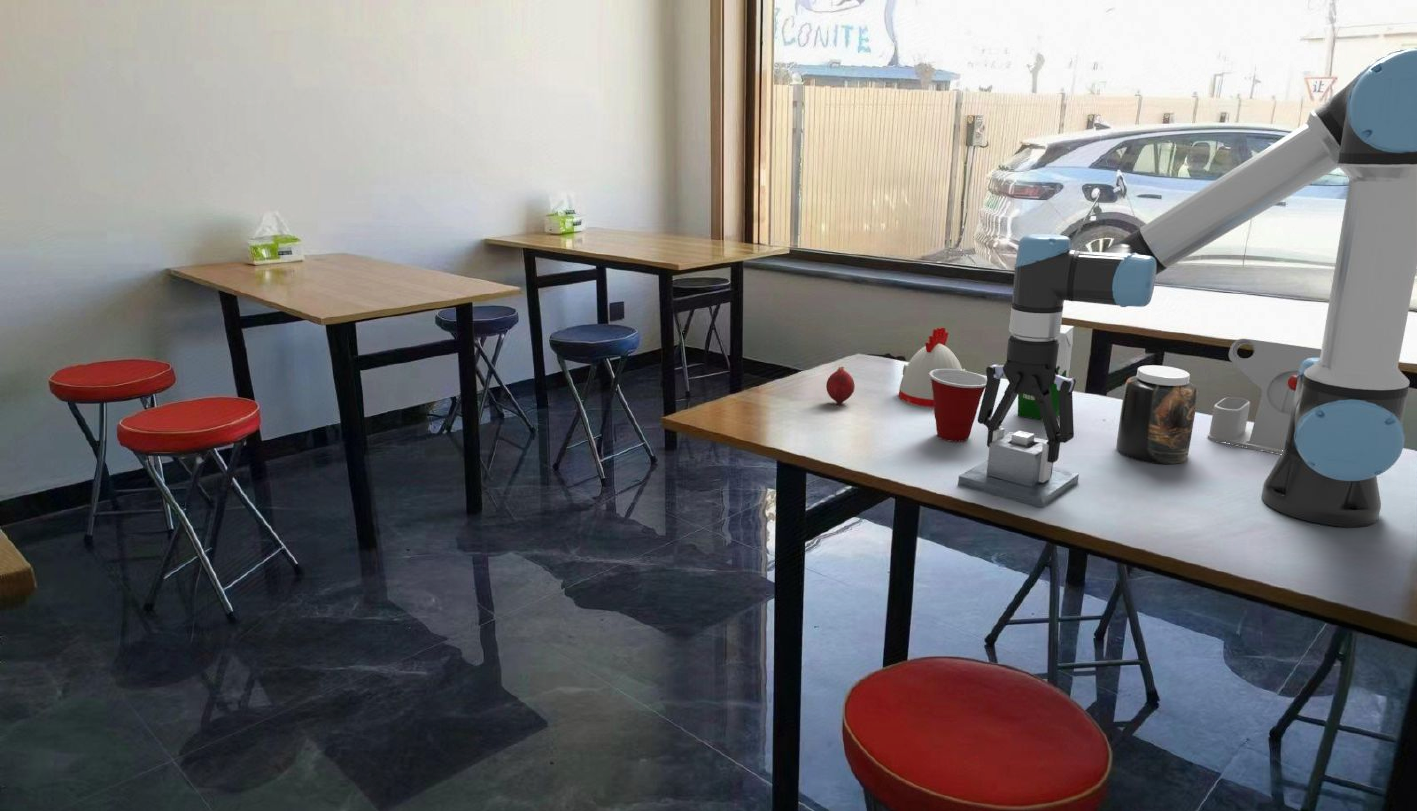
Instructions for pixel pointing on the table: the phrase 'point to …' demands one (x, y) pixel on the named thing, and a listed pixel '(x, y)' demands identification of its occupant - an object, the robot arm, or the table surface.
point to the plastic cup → (956, 401)
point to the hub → (1015, 461)
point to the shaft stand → (1018, 492)
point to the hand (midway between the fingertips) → (1019, 473)
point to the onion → (840, 385)
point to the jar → (1157, 415)
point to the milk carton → (1028, 403)
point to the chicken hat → (926, 369)
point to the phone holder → (1274, 411)
